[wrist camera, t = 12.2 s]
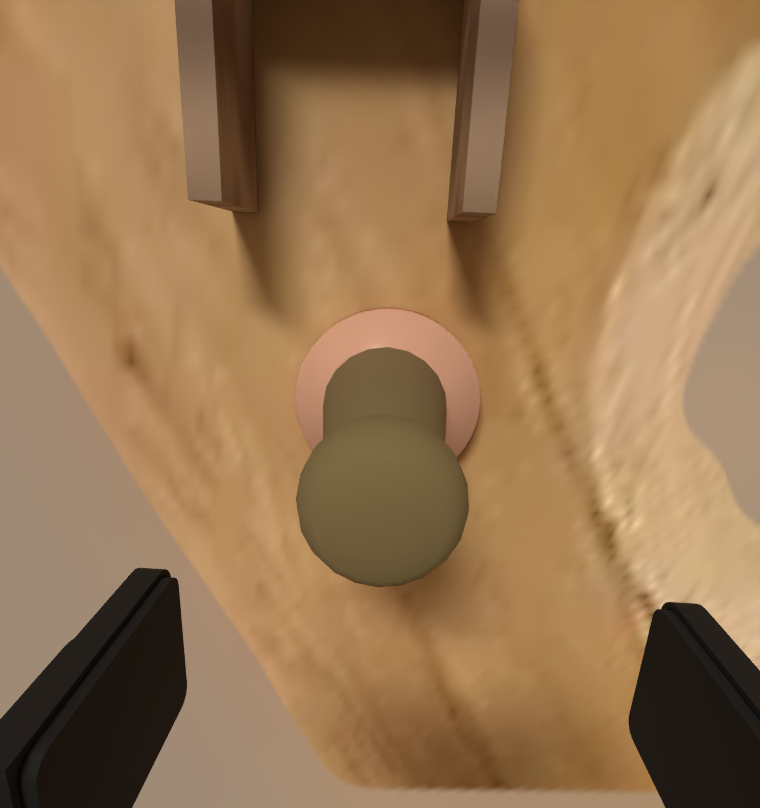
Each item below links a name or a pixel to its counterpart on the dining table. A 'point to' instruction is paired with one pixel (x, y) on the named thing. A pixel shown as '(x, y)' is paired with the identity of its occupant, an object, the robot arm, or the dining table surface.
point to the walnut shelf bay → (235, 104)
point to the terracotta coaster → (397, 333)
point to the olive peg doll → (383, 473)
